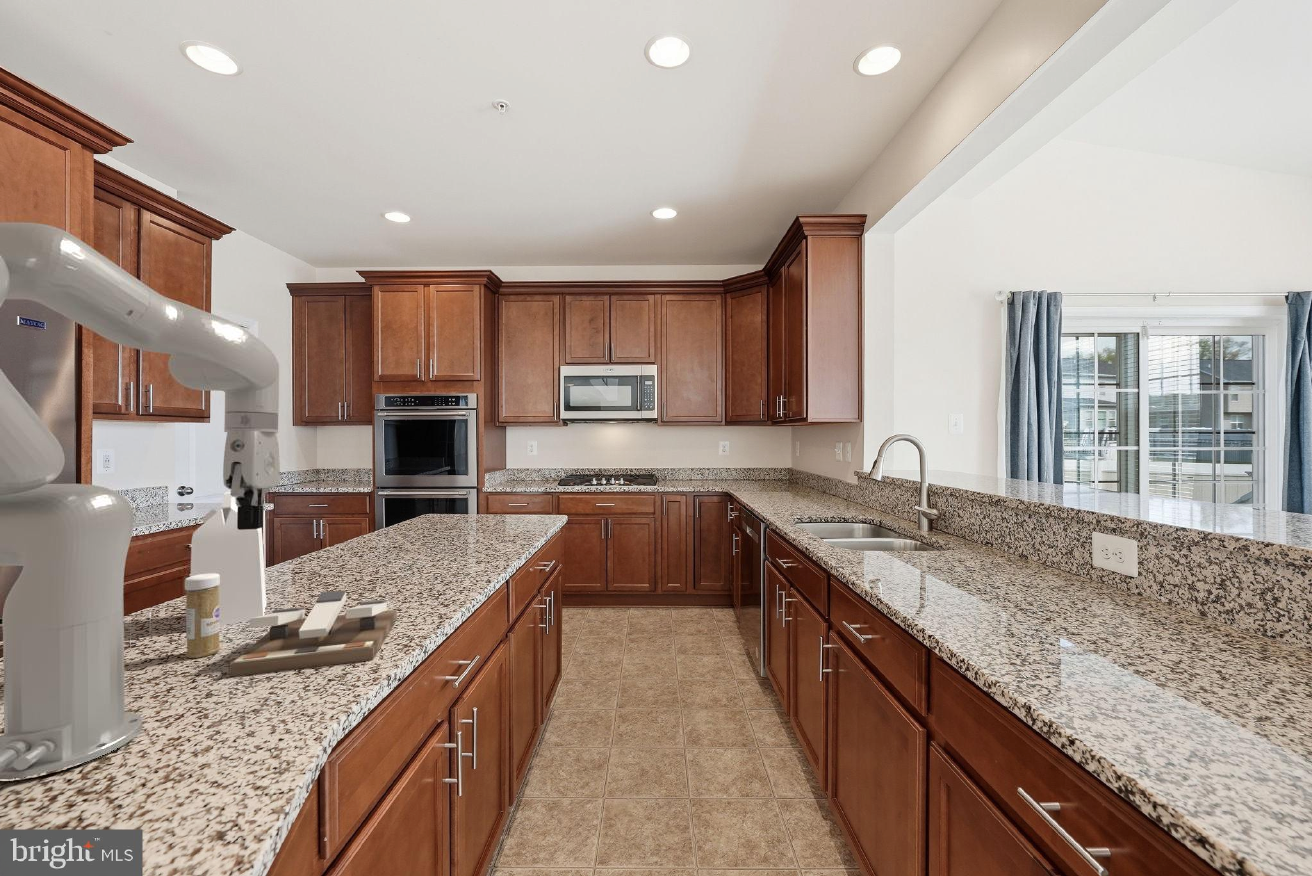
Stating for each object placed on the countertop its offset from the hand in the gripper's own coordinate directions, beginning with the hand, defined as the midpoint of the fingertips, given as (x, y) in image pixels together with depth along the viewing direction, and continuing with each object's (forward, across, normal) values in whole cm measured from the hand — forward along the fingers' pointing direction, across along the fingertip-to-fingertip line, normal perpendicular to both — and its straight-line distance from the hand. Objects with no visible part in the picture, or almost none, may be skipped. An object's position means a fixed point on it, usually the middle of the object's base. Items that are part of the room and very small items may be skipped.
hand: (250, 528), depth 91 cm
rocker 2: (+16, 0, -19) cm, 24 cm away
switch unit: (+21, 0, -12) cm, 24 cm away
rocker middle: (+16, 0, -12) cm, 20 cm away
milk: (+21, +22, +13) cm, 33 cm away
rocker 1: (+16, 0, -5) cm, 17 cm away
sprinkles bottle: (+22, +2, +7) cm, 23 cm away
